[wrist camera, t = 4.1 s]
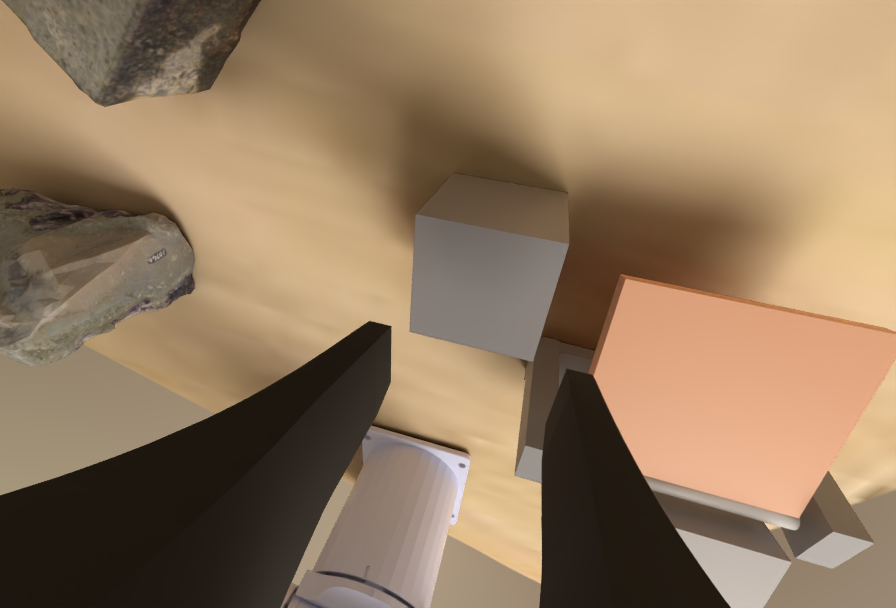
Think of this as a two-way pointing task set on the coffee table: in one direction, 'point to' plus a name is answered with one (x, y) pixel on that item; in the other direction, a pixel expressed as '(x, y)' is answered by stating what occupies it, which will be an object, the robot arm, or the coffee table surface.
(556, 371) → the frame
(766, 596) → the trapdoor
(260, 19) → the coffee table surface
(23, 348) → the mineral rock
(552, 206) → the gray cube
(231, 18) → the stone block
